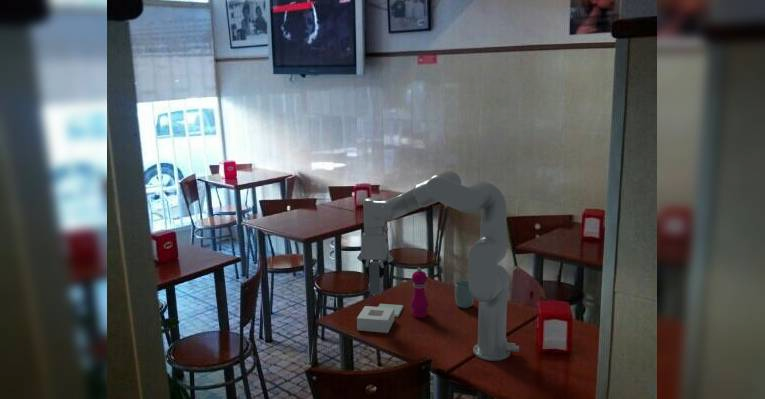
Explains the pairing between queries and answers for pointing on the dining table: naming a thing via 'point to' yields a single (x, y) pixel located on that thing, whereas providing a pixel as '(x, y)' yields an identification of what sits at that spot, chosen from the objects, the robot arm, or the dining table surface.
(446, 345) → the dining table surface
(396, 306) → the white square plate
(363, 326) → the socket block
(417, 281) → the pepper mill
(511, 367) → the dining table surface
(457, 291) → the cup
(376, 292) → the steel pin
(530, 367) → the dining table surface
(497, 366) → the dining table surface
